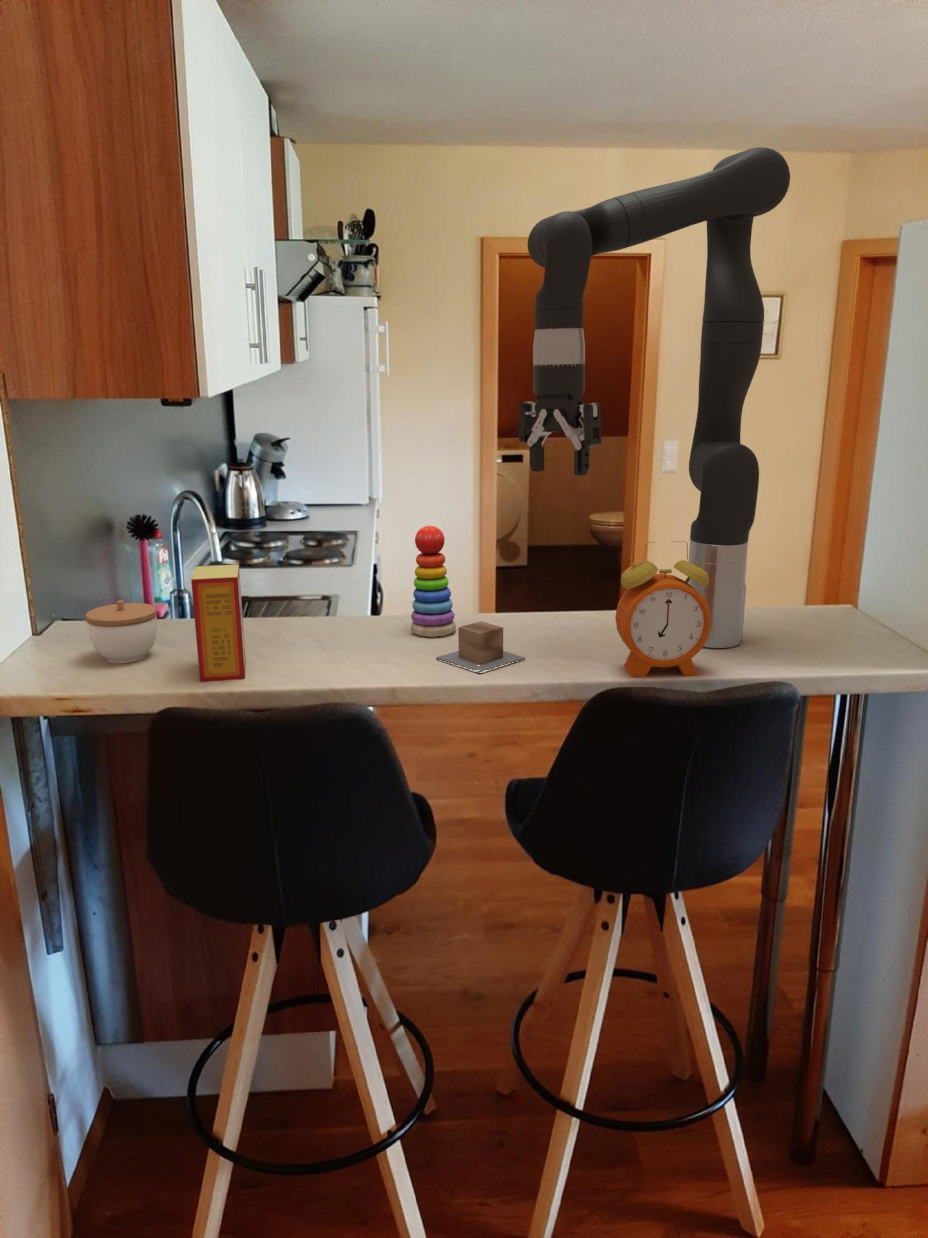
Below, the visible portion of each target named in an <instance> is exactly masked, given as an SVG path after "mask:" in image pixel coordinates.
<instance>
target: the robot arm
mask: <svg viewBox="0 0 928 1238" xmlns="http://www.w3.org/2000/svg"><path fill="white" fill-rule="evenodd" d="M790 181H791V171H790V167H789V165H788V162H787V160H786V159H785V157H784V156H783V155H782V154H781V153H780V152H779V151H777V150H775V149H773V148H769V147H753V148H748V149H745V150H743V151H741V152H737V153H733V154H732V155H731V154H730V155H728V156H727V157H724V158H723V159H721V160H720V161H719V162H718V163H716V165H715V166H714V167H713V169H711V170H710V171H708V172H705V173H703V174H698V175H696V176H693V177H689V178H685V179H681V180H677V181H673V182H668V183H665V184H660V185H656V186H655V185H654V186H651V187H647V188H644V189H639V190H635V191H632V192H629V193H625V194H622V195H619V196H614V197H612V198H611V197H610V198H609V199H605V200H603V201H601V202H598V203H596V204H594V205H592V206H589V207H585V208H583V209H579V210H575V211H574V210H573V211H570V210H568V211H567V210H566V211H561V212H558V213H555V214H553V215H551V216H547V217H545V218H543V219H541V220H539V221H538V222H537V223H536V224H535V225H534V226H533V227H532V229H531V231H530V232H529V234H528V238H527V244H526V245H527V251H528V255H529V256H530V259H531V260H532V261H533V262H534V263H535V265H537V266H539V267H540V268H544V271H543V272H544V273H543V280H542V281H543V283H542V286H541V287H540V288H539V289H538V291H537V292H536V294H535V298H534V337H533V345H532V348H533V349H532V355H533V356H532V364H533V365H532V367H533V370H532V371H533V374H532V375H533V376H532V377H533V379H532V380H533V382H532V383H533V384H532V385H533V386H532V387H533V393H534V395H535V396H536V401H523V402H520V404H519V415H518V421H519V423H518V441H519V442H520V443H525V444H527V446H528V447H529V466H530V468H531V472H533V473H539V472H544V471H545V446H543V445H544V443H545V442H546V440H547V438H548V436H549V435H551V434H552V433H558V434H563V433H564V435H565V436H566V437H567V438H568V439H569V440H570V441H571V442H572V444H573V446H574V448H575V449H574V452H573V453H574V455H573V456H574V457H573V460H574V462H573V464H574V465H573V474H574V476H578V477H580V476H586V475H587V474H588V471H590V456H591V454H590V452H591V451H590V450H591V448H593V447H595V446H599V445H601V443H602V441H603V440H602V415H601V411H602V410H601V404H600V403H599V402H589V403H583V399H582V397H583V394H584V393H585V389H586V388H585V384H586V383H585V382H586V381H585V380H586V379H585V376H586V373H585V372H586V370H585V369H586V343H585V342H586V341H585V335H584V334H585V333H584V332H585V331H584V319H585V318H584V316H585V315H584V314H585V313H584V295H585V291H586V287H587V282H588V277H589V271H590V267H591V261H592V257H593V256H596V255H600V254H604V253H605V254H606V253H610V252H611V253H612V252H617V251H620V250H623V249H627V248H630V247H633V246H637V245H640V244H643V243H646V242H649V241H652V240H655V239H658V238H661V237H663V236H667V235H669V234H672V233H675V232H677V231H679V230H683V229H685V228H689V227H691V226H694V225H698V224H700V223H703V222H706V242H707V243H706V244H707V245H706V246H707V247H706V248H707V249H706V251H707V253H706V256H707V257H706V267H705V269H706V271H705V286H704V303H703V305H704V306H703V313H702V324H701V334H700V335H701V337H700V355H699V357H700V358H699V361H700V362H699V375H698V376H699V377H698V397H697V398H698V402H697V403H698V404H697V412H696V420H695V425H694V431H693V432H694V433H693V437H692V443H691V447H690V454H689V461H688V473H689V478H690V480H691V483H692V485H693V486H694V487H695V488H696V489H697V490H698V491H699V492H700V496H699V497H700V498H699V507H698V514H697V517H696V519H694V520H693V521H692V522H691V525H690V533H689V547H688V548H689V549H688V561H689V560H690V561H689V562H691V563H692V562H693V563H692V564H694V563H695V564H694V565H696V563H697V561H698V562H699V563H700V564H699V566H698V567H699V568H701V569H702V570H704V571H705V572H706V573H707V574H708V576H709V582H708V585H707V587H706V586H704V585H702V584H700V583H698V582H696V581H695V580H693V579H690V580H689V582H688V584H689V585H691V586H692V587H693V588H694V589H696V590H697V591H698V592H699V593H700V594H701V595H702V597H703V598H704V599H705V600H706V603H707V605H708V607H709V609H710V614H711V628H710V633H709V637H708V639H707V641H706V642H705V644H704V646H703V647H702V648H710V649H724V648H726V649H727V648H733V647H736V646H739V644H740V643H741V640H742V639H743V634H744V633H743V632H744V622H745V608H746V607H745V606H746V595H747V584H746V574H747V560H748V559H747V557H748V549H749V548H748V547H749V545H748V544H749V536H750V531H751V529H752V527H753V524H754V522H755V517H756V511H757V510H756V509H757V500H758V492H759V484H760V482H759V481H760V468H759V467H760V465H759V461H758V458H757V456H756V455H755V453H754V451H753V450H752V449H750V447H748V446H747V445H744V444H742V442H741V431H742V429H741V428H742V416H743V410H744V409H743V408H744V404H745V401H746V397H747V395H748V392H749V389H750V387H751V385H752V381H753V380H754V379H753V378H754V376H755V373H756V371H757V369H758V365H759V363H760V362H759V361H760V358H761V353H762V346H763V335H764V323H765V307H764V301H763V296H762V293H761V290H760V286H759V284H758V281H757V278H756V274H755V272H754V268H753V263H752V258H751V246H752V244H751V242H752V234H753V233H752V231H753V224H754V218H755V217H759V216H762V215H764V214H767V213H769V212H771V211H772V210H774V209H775V208H776V207H778V205H779V204H781V203H782V202H783V200H784V198H785V197H786V195H787V193H788V190H789V187H790V183H791V182H790ZM581 418H583V420H582V419H581ZM536 419H537V420H536Z"/></svg>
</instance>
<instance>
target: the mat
mask: <svg viewBox="0 0 928 1238" xmlns="http://www.w3.org/2000/svg"><path fill="white" fill-rule="evenodd" d="M435 657H436V658H435V660H436V659H440V660H442V661H446V662H449V663H453V664H455V665H460V666H462V667H466V668H468V669H472V670H480V671H478V672H482V671H484V670H489V669H493V668H495V667H499V666H501V665H505V664H508V663H512V662H516V661H520V662H522V661H521V660H523V659H525V660H526V657H524V656H521V655H518V654H516V653H512V652H508V651H505V650H503V658H500V659H497V660H494V661H491V662H488V663H484V664H481V665H480V664H477V663H474V662H471V661H468V660H465V659H462V658H459V650H457V651H453V652H450V653H446V654H442V655H439V656H435ZM442 661H441V662H442ZM523 661H524V660H523ZM477 665H480V666H477Z"/></svg>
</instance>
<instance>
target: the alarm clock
mask: <svg viewBox="0 0 928 1238" xmlns="http://www.w3.org/2000/svg"><path fill="white" fill-rule="evenodd" d="M684 542H685V543H686V559H687V560H684V559H683V560H682V559H681V560H679V561H677V562H676V563H675V564H674V565H672V567H673V568H674V569H675V570H677V571H678V572H680V574H683V575H684V576H687V577H686V579H681V578H680V577H678V576H676V575H673V574H672V573H673V571H672V569H671V568H665V569H664V568H661V569H658V567H657V566H656V565H655V564H654V562H651V561H649V560H646V554H647V553H646V552H647V545H648V544H649V543H650V544H651V543H655V541H647V542H646V543H645V547H644V548H645V549H644V558H643V560H642V561H638V562H637V563H634V562H632V563H630V566H628V568H626V570H624V571H623V573H622V574H621V578H620V583H621V586H622V588H623V589H625V591H623V593H622V596H621V597H620V599H619V601H618V603H617V607H616V611H615V616H614V617H615V625H616V630H617V632H618V634H619V637H620V639H621V641H622V642H623V644H624V645H625V646H626V647H627V648H628V650H629V654H628V656H627V658H626V659H625V662H624V664H623V667H624V668H625V670H626V671H627V672H628V674H629V675H630V676H631V677H632V678H637V677H641V678H642V677H643V678H645V677H647V675H648V673H649V672H650V671H651V669H652V667H657V668H672V667H676V669H678V670H679V672H680V673H681V674H682V675H683V676H697V675H698V672H697V670H696V668H695V665H694V662H693V660H692V659H693V658H694V657H695V656H696V655H697V654H699V652H700V651H701V650H702V649H703V648H704V647H703V646H704V644H705V642H706V641H707V639H708V637H709V633H710V628H711V614H710V609H709V607H708V605H707V603H706V600H705V599H704V598H703V597H702V595H701V594H700V593H699V592H698V591H697V590H696V589H694V588H693V587H692V586H691V585H689V584H688V582H689V580H690V579H693V580H695V581H696V582H698V583H700V584H702V585H704V586H706V587H707V585H708V582H709V576H708V574H707V573H706V572H705V571H704V570H702V569H701V568H699V567H698V566H699V564H700V563H699V562H698V561H697V563H696V565H694V564H695V563H694V564H692V563H693V562H692V563H691V562H689V561H690V560H689V549H688V548H689V546H688V542H687V541H686V540H683V541H681V540H680V541H678V540H677V541H673V540H672V541H671V543H684ZM658 571H659V573H658Z"/></svg>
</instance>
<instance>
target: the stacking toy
mask: <svg viewBox="0 0 928 1238" xmlns="http://www.w3.org/2000/svg"><path fill="white" fill-rule="evenodd" d="M445 539H446V538H445V534H444V533H443V532H442V530H441V529H440V528H439V527H437V526H435V525H424V526H422V527H421V528H419V530H418V531H417V532H416V534H415V537H414V544H415V547H416V548H417V550H418V551H419V552H420V553H419V554H417V556H416V557H415V563H416V564H417V567H415V569H414V575H415V576H416V577H415V578H414V580H413V586H414V587H415V589H414V590H413V598H414V600H413V601H412V609H413V610H412V612H411V616H410V617H411V618H410V619H411V620H412V622H411V623H410V630H411V632H412V633H414V634H415V635H417V636H421V637H425V636H426V638H436V637H438V636H440V637H444V636H445V637H446V636H448V635H450V634H452V633H453V632H455V630H456V627H457V625H456V622H455V621H454V619H455V612H454V611H453V610H452V609H453V605H454V603H453V601H452V599H451V596H452V592H451V589H450V588H449V587H448V586H449V579H448V577H447V576H446V575H447V572H448V570H447V568H446V566H445V565H444V564H445V562H446V557H445V555H444V554H443V553H441V552H442V549H443V548H444V545H445ZM438 638H439V637H438Z"/></svg>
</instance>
